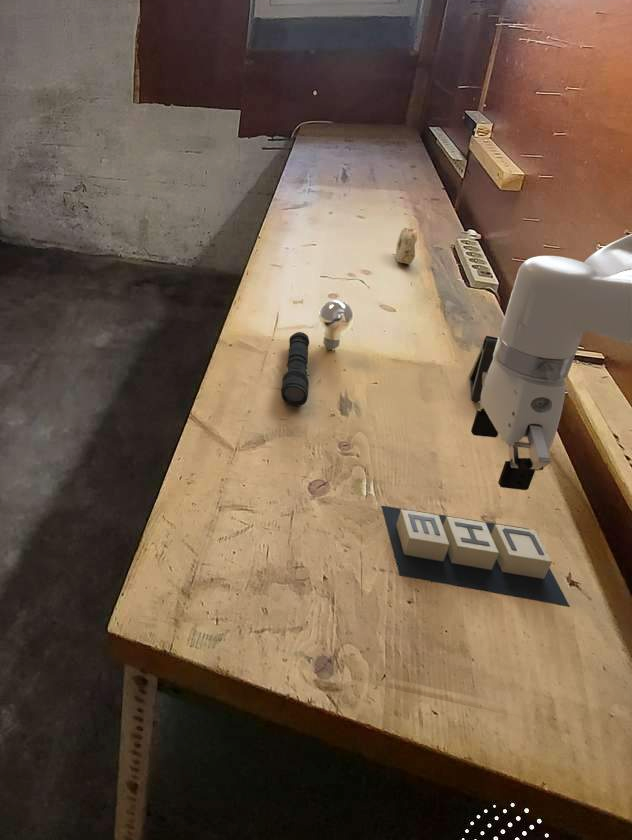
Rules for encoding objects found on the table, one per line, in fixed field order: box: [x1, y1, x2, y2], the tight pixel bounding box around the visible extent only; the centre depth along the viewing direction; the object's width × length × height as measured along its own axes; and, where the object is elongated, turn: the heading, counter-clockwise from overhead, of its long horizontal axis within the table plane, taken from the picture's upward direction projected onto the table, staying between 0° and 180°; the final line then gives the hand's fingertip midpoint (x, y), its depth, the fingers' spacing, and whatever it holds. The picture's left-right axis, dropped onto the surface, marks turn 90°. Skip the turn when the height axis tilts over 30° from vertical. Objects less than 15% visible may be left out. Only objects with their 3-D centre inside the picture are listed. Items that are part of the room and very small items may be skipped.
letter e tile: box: [396, 508, 449, 561], centre depth 80 cm, size 5×5×4 cm
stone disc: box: [395, 227, 418, 265], centre depth 162 cm, size 10×4×10 cm, turn 161°
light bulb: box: [318, 299, 355, 351], centre depth 123 cm, size 7×7×12 cm
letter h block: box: [443, 515, 499, 570], centre depth 79 cm, size 5×5×4 cm
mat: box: [380, 505, 570, 608], centre depth 79 cm, size 20×12×1 cm, turn 76°
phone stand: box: [469, 335, 498, 402], centre depth 108 cm, size 9×6×12 cm, turn 150°
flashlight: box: [280, 331, 310, 407], centre depth 116 cm, size 5×21×5 cm, turn 159°
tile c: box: [491, 523, 553, 579], centre depth 77 cm, size 5×5×4 cm
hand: (497, 459), depth 76 cm, fingers open, 9 cm apart
